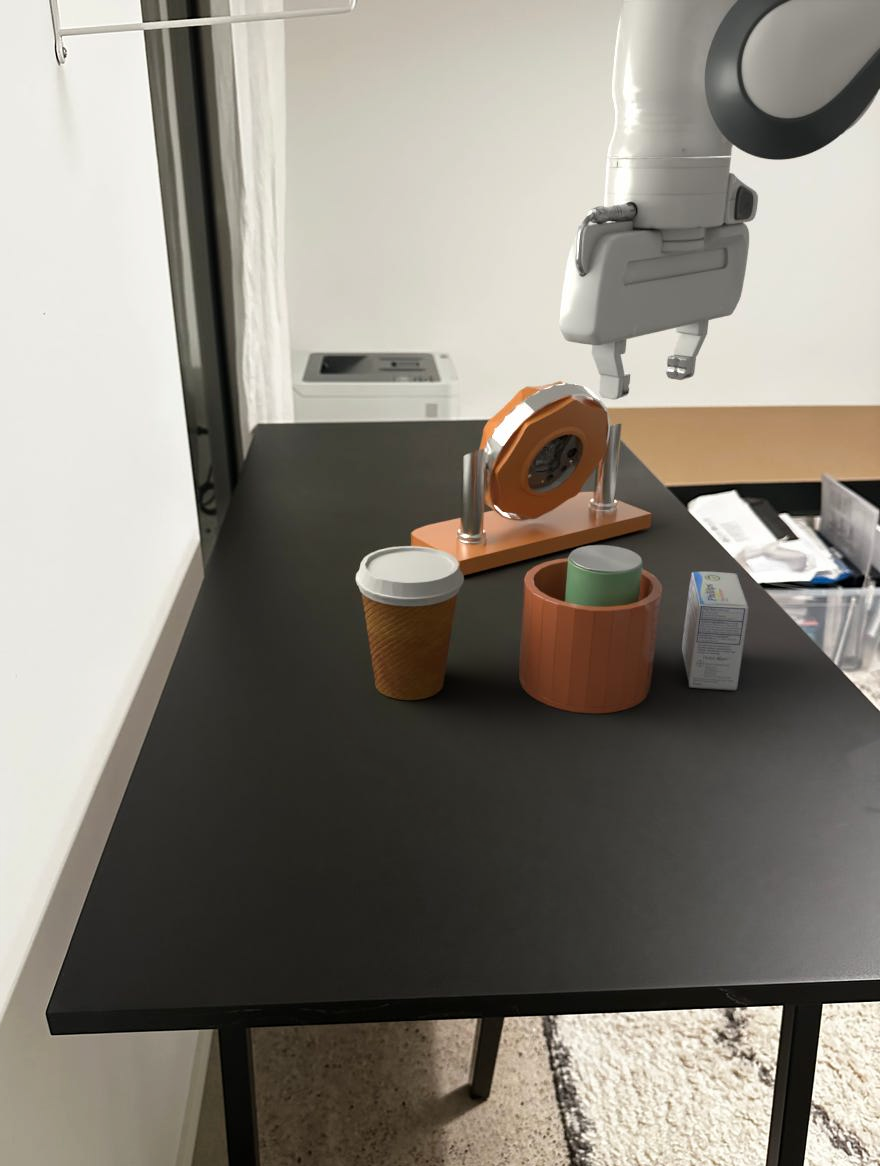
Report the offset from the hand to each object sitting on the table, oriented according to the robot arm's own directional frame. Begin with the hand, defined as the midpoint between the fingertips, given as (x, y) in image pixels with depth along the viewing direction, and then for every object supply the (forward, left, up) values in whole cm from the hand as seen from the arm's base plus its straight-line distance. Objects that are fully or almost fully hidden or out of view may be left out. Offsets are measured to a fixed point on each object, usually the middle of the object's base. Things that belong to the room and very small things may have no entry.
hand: (647, 387), depth 83 cm
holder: (+3, +1, -28) cm, 28 cm away
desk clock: (+30, -24, -28) cm, 47 cm away
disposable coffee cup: (+14, +13, -28) cm, 34 cm away
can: (-1, +1, -21) cm, 21 cm away
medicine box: (-4, -9, -28) cm, 30 cm away
